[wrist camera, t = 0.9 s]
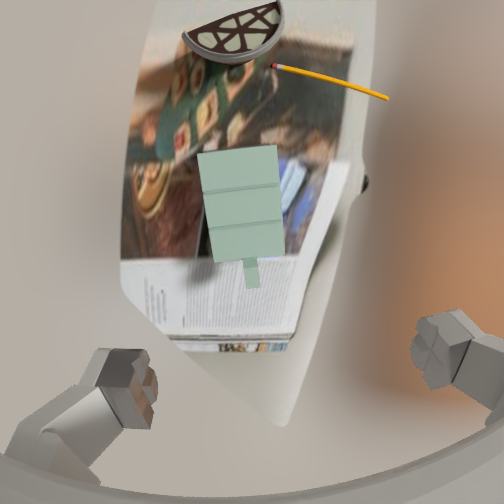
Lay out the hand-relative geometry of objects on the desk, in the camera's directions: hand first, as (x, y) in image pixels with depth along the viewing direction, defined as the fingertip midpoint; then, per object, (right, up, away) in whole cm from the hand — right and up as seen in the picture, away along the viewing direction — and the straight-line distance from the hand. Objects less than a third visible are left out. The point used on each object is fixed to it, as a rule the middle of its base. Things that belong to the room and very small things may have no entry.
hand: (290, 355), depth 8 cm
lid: (-2, +8, +31) cm, 32 cm away
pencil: (+11, +28, +30) cm, 42 cm away
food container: (-3, +31, +27) cm, 41 cm away
